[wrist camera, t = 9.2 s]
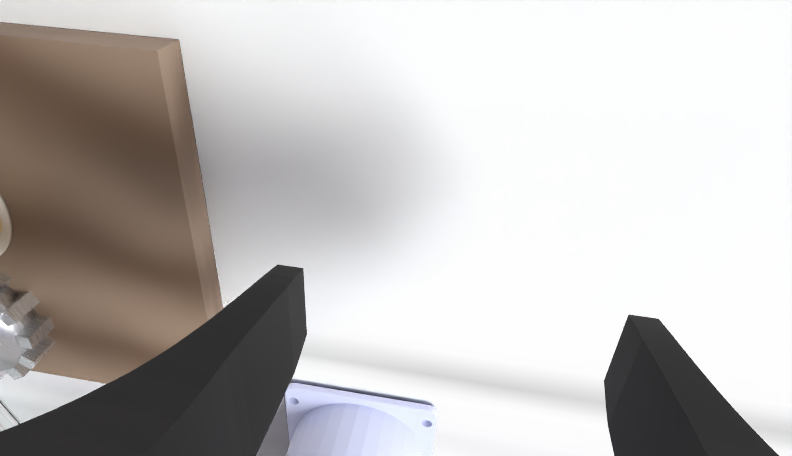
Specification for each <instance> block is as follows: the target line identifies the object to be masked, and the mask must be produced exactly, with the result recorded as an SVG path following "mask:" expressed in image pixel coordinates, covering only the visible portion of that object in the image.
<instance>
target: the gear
mask: <svg viewBox="0 0 792 456" xmlns="http://www.w3.org/2000/svg"><path fill="white" fill-rule="evenodd" d="M10 282H11V277H9V276H7V275H5V274H3V273H1V272H0V379H1V378H2V377H3V376H4V375H5V374H6V373H8V374H9V375H10V376H11V377H12V378H13V379H14V380H15V379H18V378H21V377H24V376H25V375H26V374H27V372H28V371H29V370H30V369H32V368H33V367H34V366H35V365H36V364H37V363H38V362H39V361H40V360H41V359H42V358H43V357H44V356H45V355H46V354H47V353H48V352H49V351H50V350H51V349H52V347H53V344H54V342H55V340H54V339H52V338H50V337H48V336H46V335H47V334H48V333H49V332H50V331H51V330H52V329H53V328H54V326H53V323H52V321H51V318H50V317H47V316H41V315H37V313H36V312H35V310H34V309H33V308H34V307H35V306H36V305H37V304H38V303H39V301H38V300H37V299H36V298H35V297H34V296H33V295H32V294H31V293H30V292H29V291H28V292H26V293H23V294H21V295H20V294H19V293H17V292H16V291H15V290H13V289H12V288H10V287H9V285H10Z"/></svg>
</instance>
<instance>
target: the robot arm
mask: <svg viewBox="0 0 792 456" xmlns="http://www.w3.org/2000/svg"><path fill="white" fill-rule="evenodd" d="M306 335H307V329H306V311H305V293H304V275H303V268H297V267H290V266H283V265H277V266H275V267H274V268H273V269H271V270H270V271H269V272H268V273H266V274H265V275H264V276H263V277H262V278H260V279H259V280H258V281H257V282H256V283H254V284H253V285H252V286H251V287H250V288H248V289H247V290H246V291H245V292H243V293H242V294H241V295H240V296H239V297H237V298H236V299H235V300H234V301H232V302H231V303H230V304H229V305H227V306H226V307H225V308H224V309H222V310H221V311H220V312H218V313H217V314H216V315H215V316H213V317H212V318H211V319H209V320H208V321H207V322H205V323H204V324H203V325H201V326H200V327H199V328H197V329H196V330H194V331H193V332H192V333H190V334H189V335H187V336H186V337H185V338H183V339H182V340H180V341H179V342H177V343H176V344H175V345H173V346H172V347H170V348H169V349H167V350H165V351H164V352H162V353H161V354H159V355H158V356H156V357H154V358H153V359H151V360H149V361H148V362H146V363H144V364H143V365H141V366H139V367H138V368H136V369H134V370H132V371H131V372H129V373H127V374H125V375H123V376H121V377H119V378H118V379H116V380H114V381H112V382H110V383H108V384H106V385H104V386H102V387H100V388H98V389H96V390H94V391H92V392H90V393H88V394H87V395H85V396H83V397H81V398H78V399H76V400H74V401H72V402H70V403H68V404H65V405H63V406H61V407H59V408H57V409H54V410H52V411H50V412H47V413H45V414H43V415H40V416H38V417H36V418H33V419H31V420H29V421H26V422H24V423H21V424H19V425H16V426H14V427H11V428H9V429H6V430H3V431H0V456H256V454H257V452H258V449H259V447H260V445H261V443H262V441H263V439H264V437H265V435H266V433H267V430H268V428H269V426H270V424H271V422H272V420H273V418H274V416H275V413H276V411H277V409H278V407H279V405H280V403H281V401H282V399H283V396H284V394H285V402H286V413H287V424H288V434H289V448H288V451H287V453H286V456H432V455H433V448H434V441H435V434H436V426H437V419H438V410H437V409H436V408H435V407H433V406H430V405H425V404H419V403H413V402H407V401H401V400H395V399H389V398H383V397H377V396H371V395H365V394H359V393H353V392H347V391H341V390H335V389H329V388H323V387H317V386H311V385H305V384H299V383H290V381H291V379H292V377H293V375H294V372H295V369H296V366H297V363H298V360H299V357H300V354H301V351H302V348H303V345H304V341H305V338H306ZM289 383H290V384H289ZM604 386H605V399H606V410H607V420H608V428H609V432H610V437H611V442H612V446H613V451H614V456H779V455H778V454H777V453H776V452H775V451H774V450H773V449H772V448H771V447H770V446H769V445H768V444H767V443H766V442H765V441H764V440H763V439H762V438H761V437H760V436H759V435H758V434H757V433H756V432H755V431H754V430H753V429H752V428H751V427H750V426H749V425H748V424H747V422H746V421H745V420H744V419H743V418H742V417H741V416H740V415H739V414H738V413H737V412H736V411H735V410H734V408H733V407H732V406H731V405H730V404H729V403H728V402H727V401H726V399H725V398H724V397H723V396H722V395H721V394H720V393H719V391H718V390H717V389H716V388H715V387H714V386H713V384H712V383H711V382H710V381H709V380H708V379H707V377H706V376H705V375H704V374H703V373H702V371H701V370H700V369H699V368H698V367H697V365H696V364H695V363H694V362H693V361H692V359H691V358H690V357H689V356H688V354H687V353H686V352H685V351H684V350H683V348H682V347H681V346H680V345H679V343H678V342H677V341H676V340H675V338H674V337H673V336H672V335H671V333H670V332H669V331H668V330H667V329H666V327H665V326H664V325H663V324H662V323H661V321H660V320H659V319H655V318H648V317H641V316H634V315H628V318H627V321H626V323H625V326H624V329H623V331H622V334H621V337H620V339H619V342H618V345H617V347H616V350H615V353H614V355H613V358H612V361H611V363H610V366H609V369H608V371H607V374H606V377H605V380H604ZM427 420H428V421H427Z"/></svg>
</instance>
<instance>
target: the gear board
mask: <svg viewBox="0 0 792 456" xmlns="http://www.w3.org/2000/svg"><path fill="white" fill-rule="evenodd" d="M0 218H1V223H2V231H1V232H0V272H1V273H3V274H5V275H7V276H9V277H11V282H10V285H9V287H10V288H12V289H13V290H15V291H16V292H17V293H19V294H20V295H21V294H23V293H26V292H28V291H29V292H30V293H31V294H32V295H33V296H34V297H35V298H36V299H37V300H38V301H39V303H38V304H37V305H36V306H35V307H34V308H33V309H34V310H35V312H36V313H37V315H41V316H47V317H50V318H51V321H52V323H53V326H54V328H53V329H52V330H51V331H50V332H49V333H48V334H47V335H46V336H48V337H50V338H52V339H54V340H55V342H54V344H53V347H52V349H51V350H50V351H49V352H48V353H47V354H46V355H45V356H44V357H43V358H42V359H41V360H40V361H39V362H38V363H37V364H36V365H35V366H34V367H33V368H32V369H30V370H31V371H37V372H43V373H48V374H54V375H60V376H66V377H71V378H77V379H83V380H89V381H94V382H100V383H106V384H108V383H110V382H112V381H114V380H116V379H118V378H119V377H121V376H123V375H125V374H127V373H129V372H131V371H132V370H134V369H136V368H138V367H139V366H141V365H143V364H144V363H146V362H148V361H149V360H151V359H153V358H154V357H156V356H158V355H159V354H161V353H162V352H164V351H165V350H167V349H169V348H170V347H172V346H173V345H175V344H176V343H177V342H179V341H180V340H182V339H183V338H185V337H186V336H187V335H189V334H190V333H192V332H193V331H194V330H196V329H197V328H199V327H200V326H201V325H203V324H204V323H205V322H207V321H208V320H209V319H211V318H212V317H213V316H215V315H216V314H217V313H218V312H220V311H221V310H222V309H223V306H222V300H221V294H220V287H219V281H218V275H217V269H216V263H215V257H214V251H213V245H212V239H211V233H210V226H209V220H208V214H207V208H206V202H205V196H204V190H203V184H202V178H201V172H200V166H199V159H198V153H197V147H196V141H195V135H194V129H193V123H192V117H191V111H190V105H189V98H188V92H187V86H186V80H185V74H184V68H183V62H182V56H181V50H180V44H179V40H177V39H166V38H156V37H146V36H135V35H125V34H115V33H105V32H94V31H84V30H74V29H63V28H53V27H43V26H33V25H22V24H12V23H2V22H0Z"/></svg>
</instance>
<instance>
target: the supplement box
mask: <svg viewBox="0 0 792 456" xmlns="http://www.w3.org/2000/svg"><path fill="white" fill-rule="evenodd" d="M16 425H19V424H18V422H17V421H16V420H15V419H14V418H13V417H12V416H11V415H10V413H9V412H8V411H7V410H6V409H5V408H4V407H3V405H2V404H1V403H0V431H3V430H6V429H9V428H11V427H14V426H16Z"/></svg>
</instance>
